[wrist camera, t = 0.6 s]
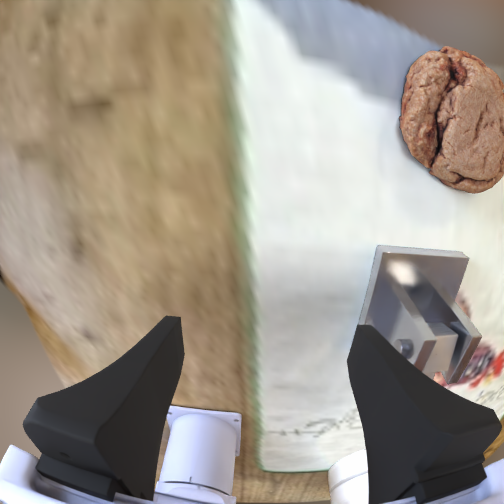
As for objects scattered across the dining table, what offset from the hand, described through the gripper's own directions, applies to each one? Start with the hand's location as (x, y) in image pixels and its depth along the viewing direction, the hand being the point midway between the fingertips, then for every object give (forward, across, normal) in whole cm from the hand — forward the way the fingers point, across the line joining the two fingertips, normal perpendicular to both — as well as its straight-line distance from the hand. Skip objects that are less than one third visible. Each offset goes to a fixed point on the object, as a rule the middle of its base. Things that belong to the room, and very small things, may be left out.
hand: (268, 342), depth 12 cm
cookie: (+10, -13, -10) cm, 20 cm away
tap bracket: (+10, -12, +5) cm, 16 cm away
